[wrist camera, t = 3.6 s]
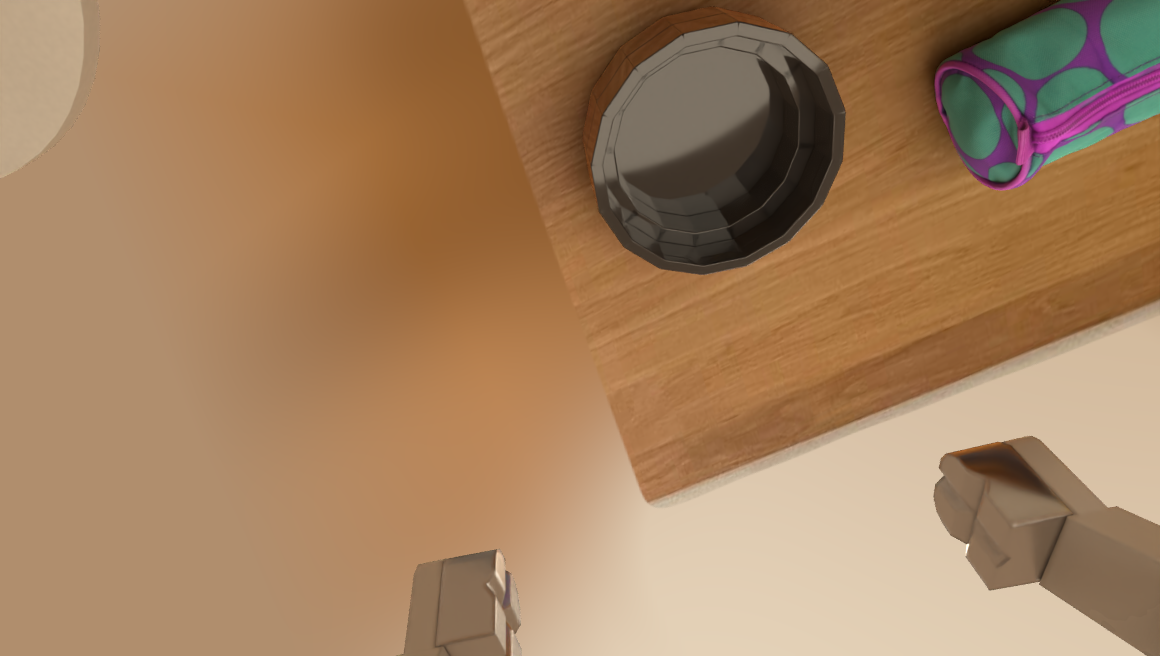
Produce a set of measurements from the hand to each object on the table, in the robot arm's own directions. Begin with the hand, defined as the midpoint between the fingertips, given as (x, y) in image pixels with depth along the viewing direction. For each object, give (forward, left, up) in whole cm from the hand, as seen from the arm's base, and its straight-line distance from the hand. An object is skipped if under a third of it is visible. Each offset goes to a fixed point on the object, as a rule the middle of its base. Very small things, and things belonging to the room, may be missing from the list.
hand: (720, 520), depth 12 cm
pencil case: (+32, -4, -33) cm, 46 cm away
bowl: (+7, -5, -33) cm, 34 cm away
